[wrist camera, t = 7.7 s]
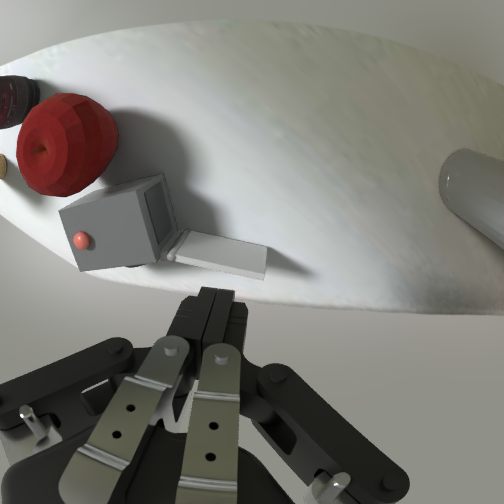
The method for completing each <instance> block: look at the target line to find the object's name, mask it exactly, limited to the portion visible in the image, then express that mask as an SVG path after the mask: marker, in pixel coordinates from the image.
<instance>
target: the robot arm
mask: <svg viewBox="0 0 504 504" xmlns="http://www.w3.org/2000/svg"><path fill="white" fill-rule="evenodd" d="M439 188H440V194H441V198H442V200H443V202H444V204H445V205H446V207H447V208H448V209H449V210H451V211H452V212H453V213H455V214H456V215H458V216H459V217H461V218H462V219H463V220H465V221H466V222H467V223H469V224H470V225H472V226H473V227H474V228H476V229H477V230H478V231H480V232H481V233H483V234H484V235H485V236H487V237H488V238H489V239H490V240H492V241H493V242H494V243H496V244H497V245H498V246H499V247H501V248H502V249H503V250H504V161H502V160H500V159H497V158H494V157H491V156H488V155H485V154H481V153H478V152H475V151H471V150H459V151H457V152H455V153H453V154H452V155H451V156H450V157H449V158H448V159H447V160H446V162H445V163H444V166H443V168H442V170H441V174H440V180H439ZM234 297H235V291H234V290H227V289H218V288H211V287H203V286H202V287H201V289H200V292H199V294H198V296H197V297H196V296H188V297H187V298H185V299H184V300H183V301H182V302H181V304H180V306H179V308H178V310H177V313H176V316H175V317H174V319H173V321H172V324H171V326H170V328H169V330H168V332H167V335H166V336H164V337H162V338H160V339H158V340H157V341H156V342H155V343H154V345H153V346H152V347H148V348H133V346H132V344H131V342H130V341H128V340H127V339H125V338H120V337H115V338H110V339H107V340H105V341H103V342H100V343H98V344H96V345H94V346H91V347H89V348H86V349H84V350H82V351H79V352H77V353H75V354H72V355H70V356H68V357H65V358H63V359H61V360H58V361H56V362H54V363H51V364H49V365H47V366H44V367H42V368H39V369H37V370H34V371H32V372H30V373H27V374H25V375H23V376H20V377H17V378H15V379H13V380H10V381H8V382H5V383H3V384H0V438H1V441H2V444H3V447H4V450H5V453H6V456H7V458H8V461H9V463H10V466H11V467H10V468H9V469H8V470H7V471H6V473H5V475H4V477H3V479H2V484H1V493H2V504H295V503H294V502H293V501H292V500H291V498H290V497H289V496H288V495H287V494H286V492H285V491H284V490H283V489H282V487H281V486H280V485H279V484H278V483H277V481H276V480H275V479H274V478H273V476H272V475H271V474H270V473H269V471H268V470H267V469H266V467H265V466H264V465H263V464H262V463H261V462H260V461H259V460H258V459H257V458H256V457H255V456H254V455H253V454H251V453H250V452H248V451H247V450H245V449H243V448H241V447H239V446H238V437H239V434H238V433H239V414H241V415H243V416H246V417H248V418H250V419H251V421H252V424H253V425H254V426H255V428H256V429H257V430H258V431H259V432H260V433H261V435H262V436H263V437H264V438H265V439H266V441H267V442H268V443H269V444H270V445H271V446H272V448H273V449H274V450H275V451H276V452H277V453H278V455H279V456H280V457H281V458H282V459H283V460H284V461H285V462H286V464H287V465H288V466H289V467H290V468H291V469H292V470H293V471H294V472H295V473H296V474H297V475H298V477H299V478H300V479H301V480H302V481H303V482H304V483H305V484H306V485H307V486H308V488H307V490H306V491H305V494H304V503H305V504H395V503H396V502H398V501H399V500H401V499H402V498H403V497H404V496H405V495H406V494H407V492H408V490H409V487H410V481H409V477H408V475H407V474H406V472H405V471H404V470H403V469H402V468H400V467H399V466H398V465H397V464H396V463H394V462H393V461H392V460H391V459H390V458H388V457H387V456H386V455H385V454H384V453H382V452H381V451H380V450H379V449H378V448H377V447H376V446H375V445H373V444H372V443H371V442H370V441H369V440H368V439H367V438H365V437H364V436H363V435H362V434H361V433H360V432H359V431H358V430H356V429H355V428H354V427H353V426H352V425H351V424H350V423H349V422H347V421H346V420H345V419H344V418H343V417H342V416H341V415H340V414H339V413H338V412H337V411H336V410H334V409H333V408H332V407H331V406H330V405H329V404H328V403H327V402H326V401H325V400H324V399H323V398H322V397H320V396H319V395H318V394H317V393H316V392H315V391H314V390H313V389H312V388H311V387H310V386H309V385H308V384H307V383H306V382H304V380H303V379H302V378H301V377H300V376H299V375H298V374H296V373H295V372H294V371H293V370H292V369H291V368H290V367H288V366H286V365H283V364H278V363H273V364H268V365H266V366H264V367H263V368H261V367H258V366H256V365H254V364H252V363H250V362H249V361H248V360H247V359H246V358H245V357H244V355H243V349H244V343H245V336H246V327H247V318H248V309H247V307H246V305H245V303H242V302H234ZM106 379H108V382H105V383H103V384H101V385H99V386H97V387H95V388H93V389H91V390H89V391H86V392H84V393H81V392H82V391H83V390H85V389H87V388H89V387H91V386H93V385H95V384H98V383H99V382H102V381H104V380H106ZM195 379H196V380H199V381H198V388H197V392H195V394H194V397H193V402H192V408H191V414H190V420H189V426H188V432H187V433H178V430H179V426H180V424H181V421H182V418H183V415H184V413H185V411H186V408H187V406H188V403H189V400H190V398H191V395H192V387H193V384H194V381H195ZM64 439H65V440H64ZM62 440H63V441H62Z"/></svg>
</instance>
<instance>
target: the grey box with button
mask: <svg viewBox="0 0 504 504" xmlns="http://www.w3.org/2000/svg"><path fill="white" fill-rule="evenodd" d="M59 214H60V217H61V221H62V224H63V227H64V230H65V233H66V235H67V238H68V241H69V244H70V247H71V249H72V252H73V255H74V257H75V260H76V262H77V265H78V268H79V270H80V272H83V271H91V270H99V269H107V268H115V267H123V266H125V267H129V268H132V267H138V266H142V265H145V264H147V263H156V262H157V261H158V259H159V258H160V257H161V260H162V261H163V260H168V259H167V255H168V253H169V252H170V250H171V249H172V248H173V246H174V245H175V243H176V242H177V241H178V239H179V238H180V236H181V235H182V231H180V232H178V229H177V225H176V221H175V218H174V214H173V210H172V206H171V202H170V198H169V194H168V189H167V185H166V181H165V177H164V174H160V175H155V176H151V177H147V178H143V179H138V180H134V181H130V182H126V183H122V184H119V185H115V186H111V187H107V188H104V189H100V190H96V191H93V192H91V193H90V194H88V195H86V196H84V197H82V198H80V199H78V200H77V201H75V202H73V203H71V204H69V205H68V206H66V207H64V208H62V209H61V210H59Z"/></svg>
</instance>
